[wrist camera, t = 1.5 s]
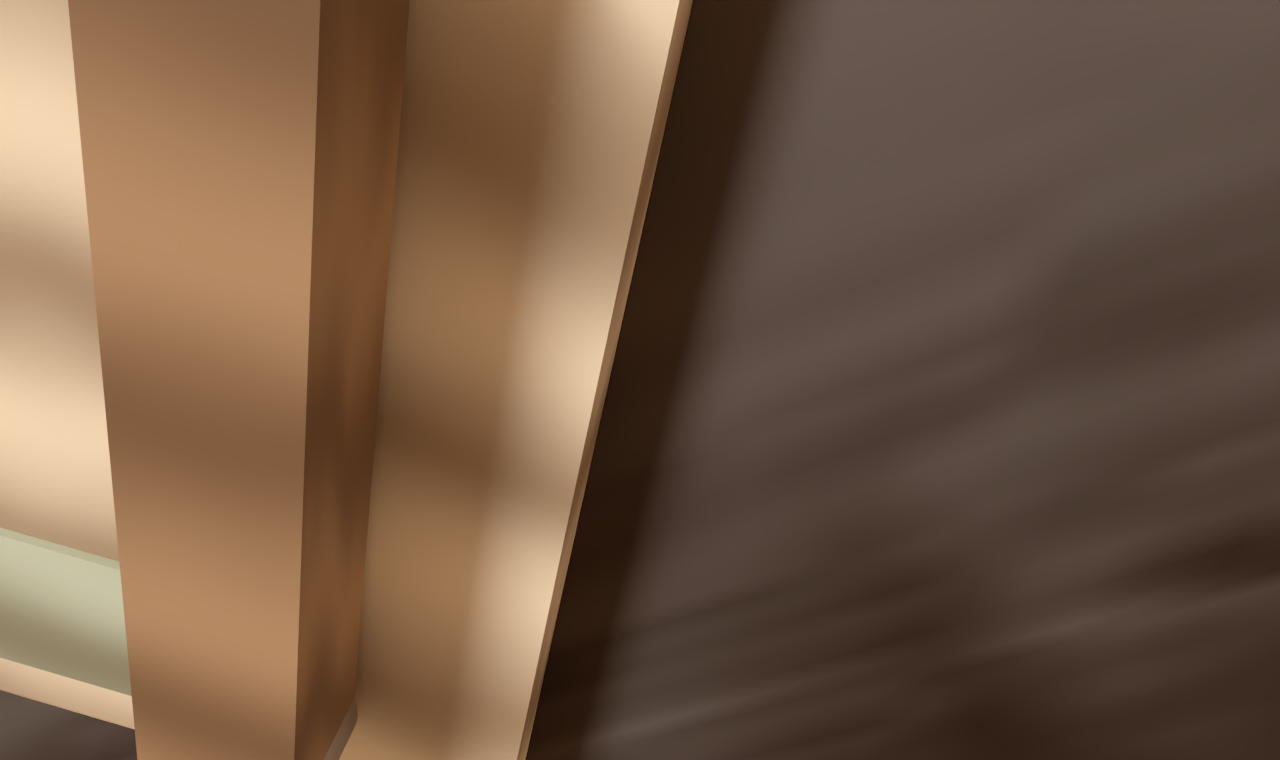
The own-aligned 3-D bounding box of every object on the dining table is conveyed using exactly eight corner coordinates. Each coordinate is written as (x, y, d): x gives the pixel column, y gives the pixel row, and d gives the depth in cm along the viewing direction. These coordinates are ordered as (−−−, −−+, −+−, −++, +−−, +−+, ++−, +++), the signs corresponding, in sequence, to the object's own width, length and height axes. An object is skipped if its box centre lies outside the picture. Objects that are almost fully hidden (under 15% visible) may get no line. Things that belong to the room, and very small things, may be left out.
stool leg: (353, 762, 26) (294, 887, 23) (213, 721, 26) (140, 841, 23) (435, -223, 14) (335, -183, 12) (183, -287, 14) (35, -260, 12)
